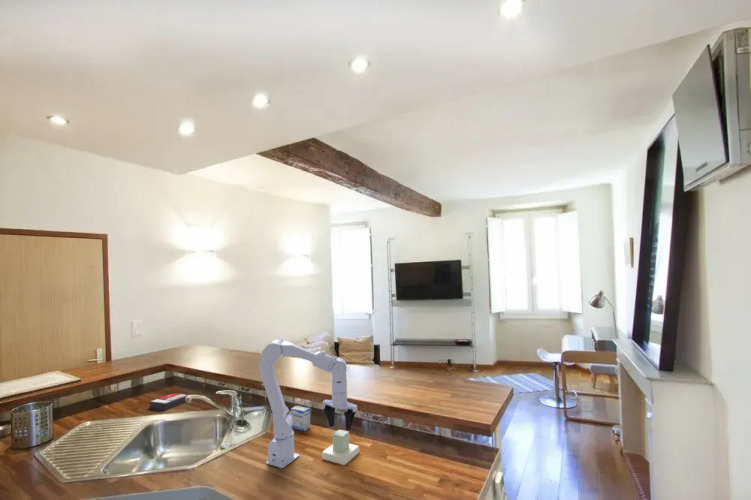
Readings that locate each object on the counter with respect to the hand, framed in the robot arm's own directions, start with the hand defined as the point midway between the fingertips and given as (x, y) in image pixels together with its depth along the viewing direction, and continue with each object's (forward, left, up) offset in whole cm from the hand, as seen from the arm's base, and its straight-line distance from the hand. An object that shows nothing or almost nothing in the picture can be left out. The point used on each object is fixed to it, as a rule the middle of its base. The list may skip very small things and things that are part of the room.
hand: (340, 427), depth 138 cm
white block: (0, 0, -11) cm, 11 cm away
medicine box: (+13, +30, -10) cm, 34 cm away
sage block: (0, 0, -8) cm, 8 cm away
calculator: (+7, +116, -11) cm, 116 cm away
